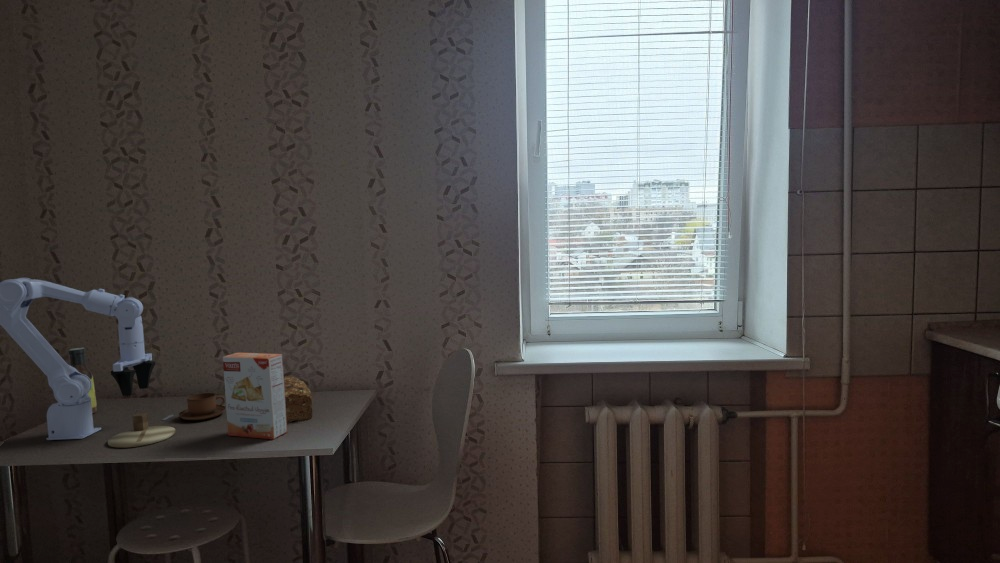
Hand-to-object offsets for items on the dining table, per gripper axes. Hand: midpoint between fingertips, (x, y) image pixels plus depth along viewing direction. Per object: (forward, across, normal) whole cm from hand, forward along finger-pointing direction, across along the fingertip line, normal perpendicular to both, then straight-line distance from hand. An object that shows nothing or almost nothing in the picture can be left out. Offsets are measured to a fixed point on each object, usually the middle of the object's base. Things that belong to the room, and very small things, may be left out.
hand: (135, 391), depth 165 cm
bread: (+10, +7, -39) cm, 41 cm away
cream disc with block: (+10, -10, -7) cm, 15 cm away
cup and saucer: (+10, +8, -14) cm, 19 cm away
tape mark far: (+10, +19, -14) cm, 26 cm away
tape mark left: (+10, +8, -4) cm, 13 cm away
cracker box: (+10, -11, -37) cm, 40 cm away
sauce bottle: (+10, +16, +25) cm, 31 cm away
